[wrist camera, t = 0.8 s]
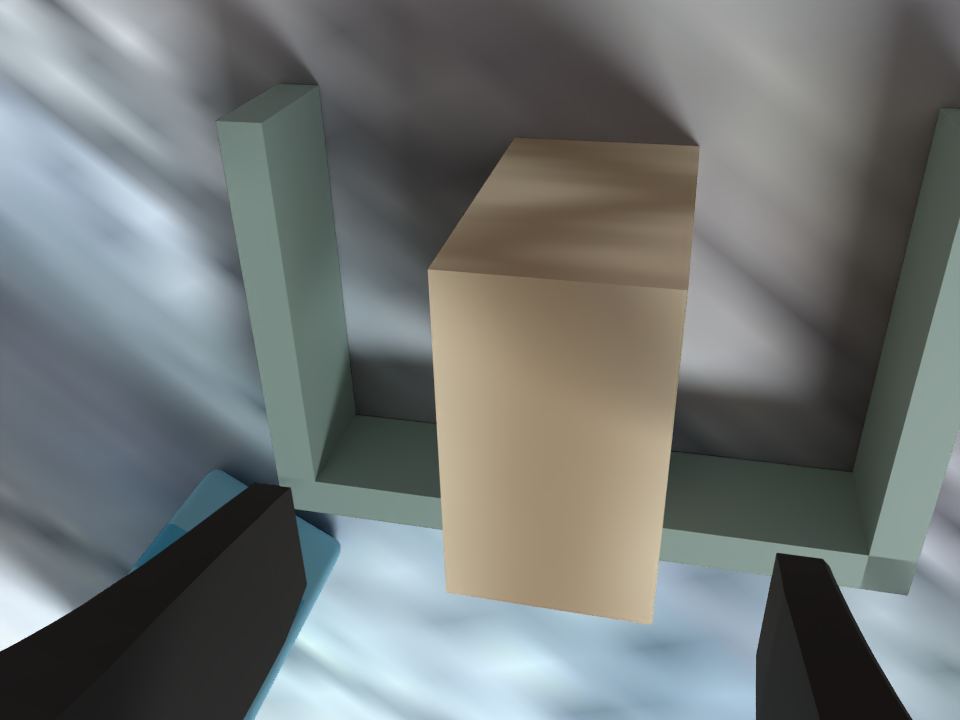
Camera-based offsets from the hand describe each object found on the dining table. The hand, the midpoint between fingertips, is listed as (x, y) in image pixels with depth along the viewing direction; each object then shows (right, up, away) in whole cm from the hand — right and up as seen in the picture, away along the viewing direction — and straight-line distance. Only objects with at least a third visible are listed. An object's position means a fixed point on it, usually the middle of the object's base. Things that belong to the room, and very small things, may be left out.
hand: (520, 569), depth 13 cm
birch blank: (+2, +5, +8) cm, 10 cm away
